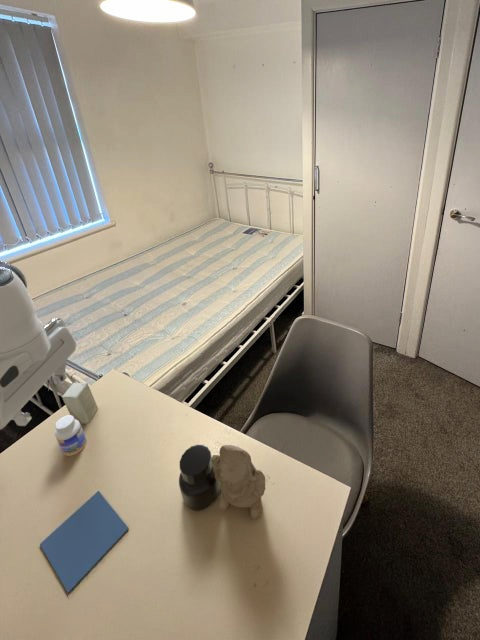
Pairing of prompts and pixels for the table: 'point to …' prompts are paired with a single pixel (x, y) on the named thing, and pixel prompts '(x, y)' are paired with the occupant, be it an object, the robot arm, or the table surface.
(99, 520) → the mat
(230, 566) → the table surface
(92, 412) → the box
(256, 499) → the figurine
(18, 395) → the robot arm
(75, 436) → the pill bottle
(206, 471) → the ink bottle
